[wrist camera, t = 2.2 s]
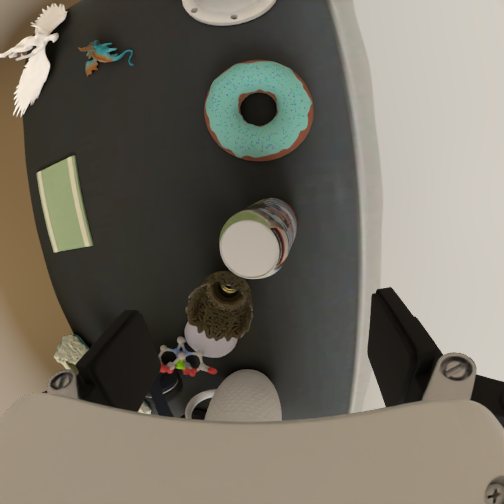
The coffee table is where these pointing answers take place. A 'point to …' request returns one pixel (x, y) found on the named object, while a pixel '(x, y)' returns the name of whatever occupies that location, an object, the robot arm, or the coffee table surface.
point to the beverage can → (258, 238)
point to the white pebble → (208, 343)
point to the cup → (221, 306)
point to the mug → (240, 399)
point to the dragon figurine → (100, 55)
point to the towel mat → (64, 206)
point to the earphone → (168, 394)
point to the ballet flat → (73, 352)
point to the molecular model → (181, 357)
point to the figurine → (36, 56)
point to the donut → (248, 135)
